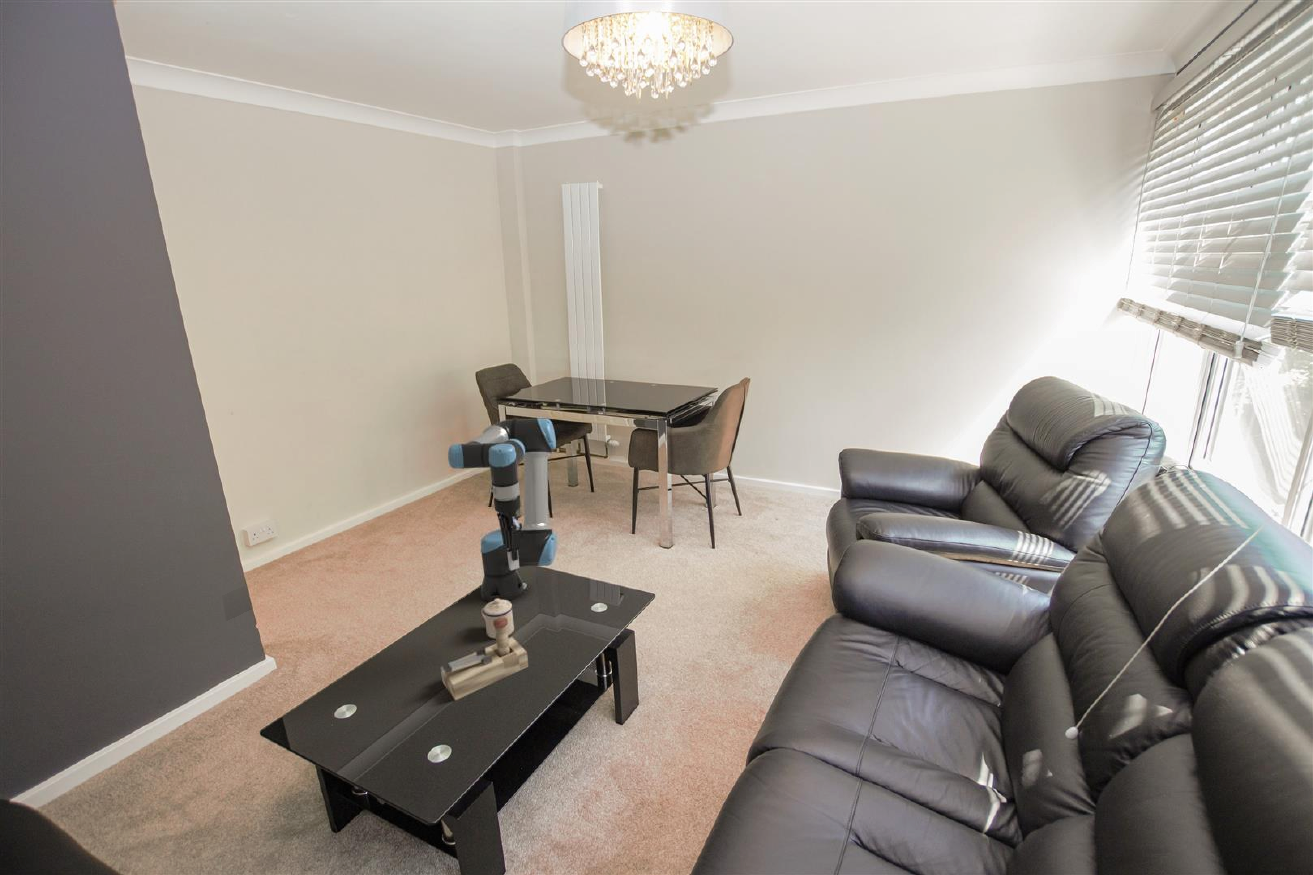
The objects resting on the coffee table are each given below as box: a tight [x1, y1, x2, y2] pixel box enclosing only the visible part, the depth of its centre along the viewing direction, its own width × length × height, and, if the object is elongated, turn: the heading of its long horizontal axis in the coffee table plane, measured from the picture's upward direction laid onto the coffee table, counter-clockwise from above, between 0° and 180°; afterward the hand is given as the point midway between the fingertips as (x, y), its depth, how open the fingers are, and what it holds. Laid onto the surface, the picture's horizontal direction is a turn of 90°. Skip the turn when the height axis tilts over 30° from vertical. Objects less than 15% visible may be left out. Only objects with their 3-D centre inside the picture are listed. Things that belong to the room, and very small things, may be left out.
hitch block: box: [440, 636, 529, 701], centre depth 169 cm, size 10×22×7 cm, turn 129°
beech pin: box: [493, 617, 510, 658], centre depth 172 cm, size 4×4×15 cm
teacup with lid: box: [480, 599, 515, 640], centre depth 190 cm, size 12×9×12 cm
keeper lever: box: [441, 653, 485, 673], centre depth 165 cm, size 3×12×1 cm, turn 129°
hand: (514, 568), depth 179 cm, fingers closed
